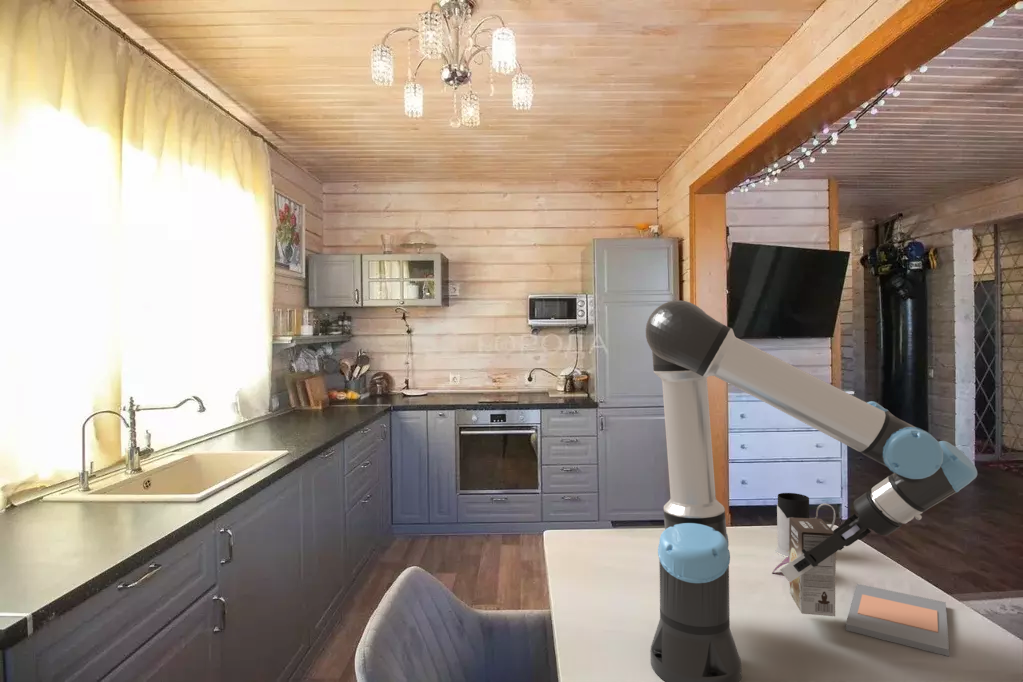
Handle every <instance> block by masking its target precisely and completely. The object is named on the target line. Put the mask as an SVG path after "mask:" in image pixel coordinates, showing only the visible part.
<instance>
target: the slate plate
mask: <svg viewBox="0 0 1023 682" xmlns="http://www.w3.org/2000/svg"><path fill="white" fill-rule="evenodd" d="M850 603H851V604H850V607H849V611H848V614H847V619H846V622H845V631H848V632H851V633H856V634H860V635H863V636H866V637H871V638H876V639H879V640H882V641H883V640H884V641H888V642H892V643H895V644H899V645H903V646H907V647H910V648H914V649H918V650H922V651H926V652H931V653H935V654H938V655H943V656H947V657H950V644H949V633H948V632H949V630H948V614H947V602H946V601H942V600H936V599H932V598H928V597H922V596H918V595H913V594H908V593H904V592H899V591H893V590H890V589H884V588H880V587H874V586H871V585H867V584H861V583H856V585H855V589H854V593H853V596H852V600H851V602H850Z"/></svg>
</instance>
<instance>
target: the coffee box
mask: <svg viewBox="0 0 1023 682" xmlns="http://www.w3.org/2000/svg"><path fill="white" fill-rule="evenodd" d="M814 518H815V517H810V518H789V563H790V562H792V561H793V560H795V559H796V558H798V557H799V556H801V555H802V554H803V552H802V550H803V549H805V550H806V552H807V551H810V550H811V549H813V548H814V547H816V546H817V545H818V544H820V543H821V542H823V541H824V540H826V539H827V538H829V537H830V536H831V535H833V531H834V530H833V528H832V529H831V528H830V527H831V526H829V525H828V524H827V523H826V522H825V520H824V519H822V518H816V519H814ZM836 554H837V551H836V552H835V553H833V554H832V555H831V556H829V557H828V558H826V559H825V560H823V561H822V562H820V563H819V564H818V565H817V566H816V567H813V568H811V569H810V570H808V571H807V572H805V573H804V574H802V575H800V576H799V577H797V578H796V579H794V580H793V581H791V582H789V581H788V583H789V584H788V585H789V586H788V587H789V594H790V597H791V598H792V600H793V602H794V603H795V605H796V606H797V608H798V610H799V612H800V613H801V614H803V615H814V616H828V617H836V575H837V573H836V569H837V568H836V567H837V565H836V564H837V561H836V560H837V557H836V556H837V555H836ZM789 563H788V564H789Z"/></svg>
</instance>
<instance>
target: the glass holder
mask: <svg viewBox="0 0 1023 682" xmlns="http://www.w3.org/2000/svg"><path fill="white" fill-rule="evenodd" d="M823 506H828V507H830V508H831V509H832V511H833V520H832V522H831V525H830V526H829V527H830V528H831V529H832V530H833V528H834V526H835V522H836V510H835V508H834V506H832V504H828V503H821V504H819V505H818V506H817V508H816V509H815V517H813V518H814V519H818V518H819V517H818V516H819V515H818V514H819V510H820V508H821V507H823ZM776 513H777V514H776V515H777V516H776V520H777V521H776V524H777V533H776V534H777V546H776V549H775V552H776V551H777V552H778V553H780V554H782V555H785V556H789V551H788V550H789V518H811V516H810V497H809V496H807V495H804V494H801V493H795V492H781V493H778V494H777V504H776ZM786 551H787V552H786ZM777 552H776V553H777ZM778 553H777V554H778Z"/></svg>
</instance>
